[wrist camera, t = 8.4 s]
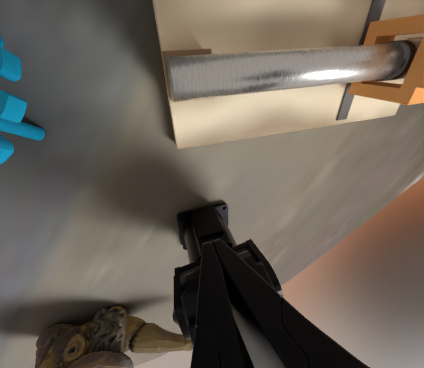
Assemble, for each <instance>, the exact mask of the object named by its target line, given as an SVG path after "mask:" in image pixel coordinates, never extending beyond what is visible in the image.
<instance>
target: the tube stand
mask: <svg viewBox="0 0 424 368" xmlns="http://www.w3.org/2000/svg"><path fill="white" fill-rule="evenodd" d="M152 1H153V7H154V14H155V20H156V26H157V32H158V38H159V45H160V51H161V57H162V63H163V70H164V76H165V82H166V88H167V94H168V101H169V107H170V113H171V119H172V125H173V132H174V138H175V144H176V147H177V149H183V148H189V147H195V146H202V145H208V144H215V143H221V142H227V141H234V140H240V139H246V138H253V137H259V136H265V135H272V134H278V133H285V132H291V131H297V130H304V129H310V128H316V127H323V126H329V125H335V124H342V123H348V122H355V121H361V120H367V119H374V118H380V117H386V116H393V115H395V114H396V112H397V109H398V107H399V105H400V103H394V102H389V101H384V100H379V99H373V98H368V97H363V96H358V95H352V94H348V92H349V89H350V86H351V83H352V82H361V81H370V80H376V81H379V82H387V83H396V84H403V81H404V79H405V77H406V75H407V72H408V70H409V68H410V66H411V63H412V61H413V59H414V57H415V54H416V52H417V50H418V48H419V45H420V43H421V41H422V39H423V36H424V33H421V34H408V35H396V37H395V39H394V41H390V42H387V43H385V44H371V45H363V44H364V41H365V38H366V34H367V31H368V28H369V25H370V22H374V21H381V20H388V19H395V18H402V17H409V16H416V15H423V14H424V0H152Z"/></svg>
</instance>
